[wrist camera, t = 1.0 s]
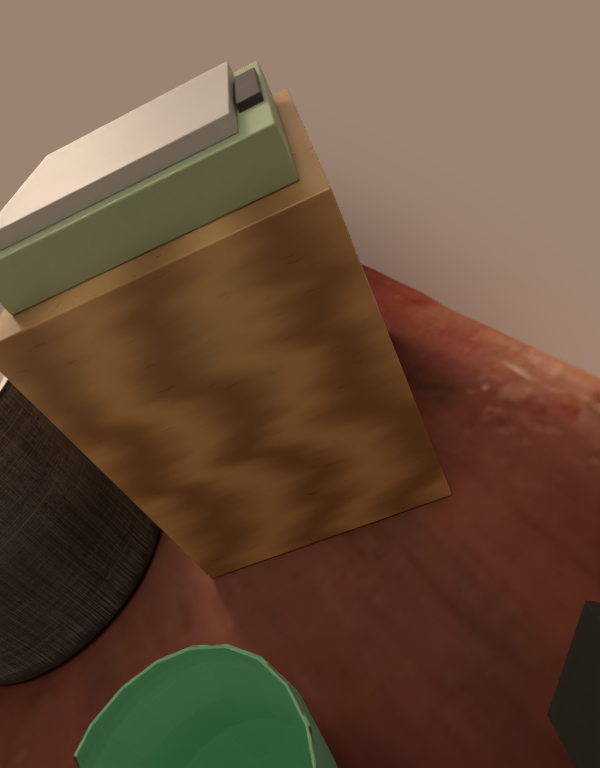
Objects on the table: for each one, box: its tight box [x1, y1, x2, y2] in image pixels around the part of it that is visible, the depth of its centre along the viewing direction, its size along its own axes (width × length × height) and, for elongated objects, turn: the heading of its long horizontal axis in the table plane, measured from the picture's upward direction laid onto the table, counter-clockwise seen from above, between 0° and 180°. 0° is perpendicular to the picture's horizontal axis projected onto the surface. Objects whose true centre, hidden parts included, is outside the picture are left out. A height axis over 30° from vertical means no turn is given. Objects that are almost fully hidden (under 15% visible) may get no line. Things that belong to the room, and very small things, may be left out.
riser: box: [0, 89, 451, 578], centre depth 35 cm, size 16×18×20 cm
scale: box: [0, 61, 299, 315], centre depth 28 cm, size 14×14×3 cm
